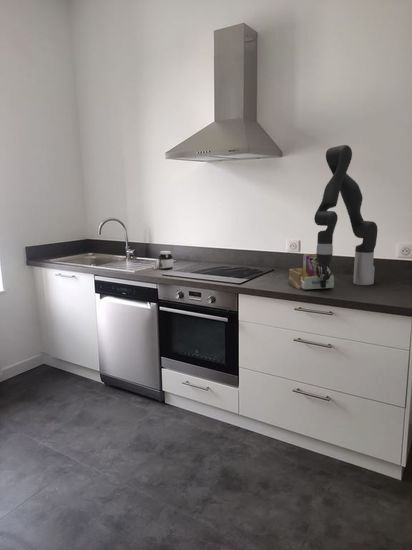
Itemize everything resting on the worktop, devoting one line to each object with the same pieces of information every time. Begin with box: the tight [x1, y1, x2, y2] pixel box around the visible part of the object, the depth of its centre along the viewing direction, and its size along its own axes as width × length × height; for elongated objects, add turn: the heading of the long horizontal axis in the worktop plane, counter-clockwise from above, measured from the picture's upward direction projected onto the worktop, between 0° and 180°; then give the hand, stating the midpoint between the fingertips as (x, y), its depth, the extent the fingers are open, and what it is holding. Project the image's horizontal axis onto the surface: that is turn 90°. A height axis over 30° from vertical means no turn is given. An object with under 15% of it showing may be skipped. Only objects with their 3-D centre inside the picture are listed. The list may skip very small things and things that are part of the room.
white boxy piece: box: [301, 275, 335, 290], centre depth 210 cm, size 15×15×6 cm
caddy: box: [288, 268, 333, 290], centre depth 216 cm, size 18×14×8 cm
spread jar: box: [153, 250, 174, 271], centre depth 268 cm, size 12×11×12 cm
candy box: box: [302, 253, 319, 281], centre depth 212 cm, size 9×4×15 cm, turn 98°
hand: (323, 287), depth 202 cm, fingers closed
